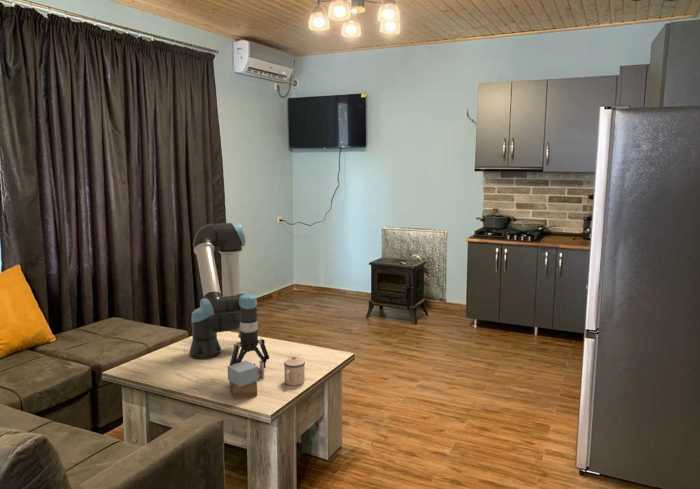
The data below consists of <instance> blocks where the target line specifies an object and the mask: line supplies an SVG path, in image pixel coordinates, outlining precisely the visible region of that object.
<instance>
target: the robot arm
mask: <svg viewBox="0 0 700 489" xmlns="http://www.w3.org/2000/svg"><path fill="white" fill-rule="evenodd" d="M246 243H247V242H246V235H245V231H244V227H243V225H242V224H241V223H239V222H223V223H222V222H221V223H208V224H206V225H203V226H202V227H201V228H200V229H199V230H198V231H197V232H196V234H195V236H194V239H193V243H192V248H193V253H194V254H195V255H196V259H197V265H198V270H199V276H200V283H201V289H202V294H203V298H201V299H200V302H199V305H200V306H199V307H198V308H196V309H194V310H193V311H192V312H191V320H190V321H191V331H192V332H191V334H192V340H191V344H190V348H189V351H188V352H189V353H188V354H189V357H190V358H191V359H195V360H208V359H209V360H210V359H214V358H216V357H219V356H220V355H222V347H221V345H220V342H219V340H218V335H217V334H218V333H224V332H225V333H226V332H231V331H232V332H233V331H239V330H241V331H240V332H239V333H240V338H239V339H240V340H239V341H240V342H239V343H238V344H233V351H232V355H231V358H230V362H229V365H228V366H230V365H233V364H237V363H240V362H243V359H244V357H245V355H246V354H247V353H250V352H255V354H256V355H257V356H258V358H259V359H260V360H259V362H258V363H259V368H260V370H261V375H260V377H265V369H266V363H267V360H269V359H270V355H269V353H268V350H267V346H266V345H265V344H266V343H265V340H264V339H263V338H259V339H258V336H259V335H258V333H259V331H258V302H257V301H258V300H257V296H256V295H255V294H253V293H252V294H250V293H249V294H247V293H244V292H241V284H240V283H241V277H240V253H241V252H242V251H243V247H245V246H246ZM216 249H217V251H218V253H220V256H221V258H220V259H221V262H220V263H221V284H222V285H221V288H220V283H219V276H218V270H217V265H216V260H215V254H214V251H215V250H216ZM221 289H222V292H221ZM258 344H259V346H260V349H261V351H262V352H261V351H260V349H259V348H258V347H257V346H258ZM239 350H240V351H239Z"/></svg>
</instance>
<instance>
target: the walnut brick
mask: <svg viewBox="0 0 700 489" xmlns="http://www.w3.org/2000/svg"><path fill="white" fill-rule="evenodd" d="M228 383H229V393H230V394H231V395H232V397H233V398H234V400H235V401H238V400H243V399H249V398H253V397H257V396H258V381H256V382H253V383H250V384H247V385H243V386H240V387H239V386H237V385H236V384H234V383H232V382H231V381H229V380H228Z"/></svg>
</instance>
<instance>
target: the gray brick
mask: <svg viewBox="0 0 700 489" xmlns="http://www.w3.org/2000/svg"><path fill="white" fill-rule="evenodd" d="M254 364H255V363H252V362H250V361H248V360H244V361H243V360H242V361H241V362H240V363H237V364H233V365H230V364H229V365H230V366H229V365H227V381H228V382H229V381H231V382H232V383H234V384H236V385H237V386H239V387H240V386H243V385H247V384H250V383H253V382H258V381H260V380H259V378H260V377H259V375H258V368H259V366H257V365H256V364H255V365H254Z"/></svg>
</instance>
